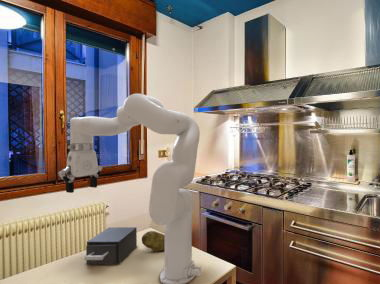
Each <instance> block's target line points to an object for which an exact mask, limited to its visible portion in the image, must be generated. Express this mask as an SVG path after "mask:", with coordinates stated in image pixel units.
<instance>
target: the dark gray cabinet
mask: <svg viewBox="0 0 380 284" xmlns="http://www.w3.org/2000/svg"><path fill="white" fill-rule="evenodd" d="M137 233H138V231H137V227H136V226H135V227H132V226H131V227H121V226H119V227H117V226H116V227H107V228H106V229H104V230H102V231H101V232H100V233H98V234H97V235H95V236H93V237H92V238H91V239H89V240H86V245H88V244H117V263H116V264H115V265H120V264H121V263H122V262H123V261H124V260H125V259H126V258H127V257H128V256H129V255H130V254H132V253H133V251H134V250H136V248H138V247H137V245H138V244H137V243H138V242H137V241H138V240H137V239H138V238H137V235H138V234H137Z"/></svg>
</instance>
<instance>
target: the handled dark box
mask: <svg viewBox="0 0 380 284" xmlns="http://www.w3.org/2000/svg"><path fill="white" fill-rule="evenodd" d="M85 249H86V251H85V252H86V255H85V256H84V257H83V260H84V261H86V262H85V263H86V265H117V264H116V263H117V244H88V245H87V244H86V246H85Z"/></svg>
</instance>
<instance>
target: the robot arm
mask: <svg viewBox="0 0 380 284" xmlns="http://www.w3.org/2000/svg"><path fill="white" fill-rule="evenodd" d="M139 125H142V126H143V127H145V128H147V129H148V130H150V131H152V132H153V133H156V134H159V135H174V136H175V135H176V136H177V137H176V139H175V142H174V144H173V147H172V154H171V159H170V161H169V162H168V161H167V162H164V163H162V164H161V165H159V166H158V167H157V168H156V169H155V171H154V173H153V175H152V180H151V185H150V186H151V187H150V188H151V189H150V194H149V203H148V214H149V218H150V219H151V220H152V222H153V223H154V224H156V225H158V226H164V233H163V235H164V245H165V250H164V269H163V270H162V271H161V272H160V274H159V280H160V283H162V284H187V283H189V282H190V281H192V280H194V278H195V277H200V276H201V275H202V267H201V266H200V265H195V260H193V242H192V241H193V213H194V208H195V198H194V196H193V193H192V192H191V191H190V190H188V189H186V188H185V187H186V186H188V185H190V184H191V183H192V182H193V181H194V178H195V173H196V172H195V171H196V164H197V158H198V148H199V142H200V137H201V136H200V134H201V133H200V132H201V131H200V127H199V124H198V123H197V121H196V120H195V119H194V117H192V116H191V115H189V114H187V113H185V112H182V111H178V110H172V109H168V108H165V106H164V103H163V102H162V101H161V100H160V99H159V98H156V97H154V96H150V95H147V94H144V93H133V94H130V95H128V96H127V97H126V98H125V100H124V102H123V105H121V106H119V107H118V108H117V109H116V116H115V117H103V116H91V115H90V116H83V117H79V116H77V117H75V116H74V117H71V118H70V121H69V141H70V142H69V145H67V149H68V150H69V151H68V154H67V160H66V167H64V168H62V169H61V170H59V171H58V172H57V175H58V176H59V178H60V179H61V180H62V181H63V183H65V192H66V193H69V194H73V193H74V192H75V183H74V182H73V181H74V180H75V179H76V178H81V177H87V176H89V177H90V178H89V187H90V188H96V189H97V187H98V178H99V176H100V175H101V173H102V170H103V166H102V165H99V164H98V157H97V153H96V151H95V150H94V137H108V136H109V137H112V136H118V135H121V134H124V133H126V132H127V133H128V132H129V131H130V130H131V129H132V128H133V127H137V126H139Z"/></svg>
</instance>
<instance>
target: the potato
mask: <svg viewBox="0 0 380 284" xmlns="http://www.w3.org/2000/svg"><path fill="white" fill-rule="evenodd" d="M164 235H165V234H164V233H162V232H158V231H155V230H149V231H147V232H145V233H143V235H142V237H141V242H142V244H143V246H144V247H146V248H147V249H150V250H152V251H154V252H161V251H165V245H164Z"/></svg>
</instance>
